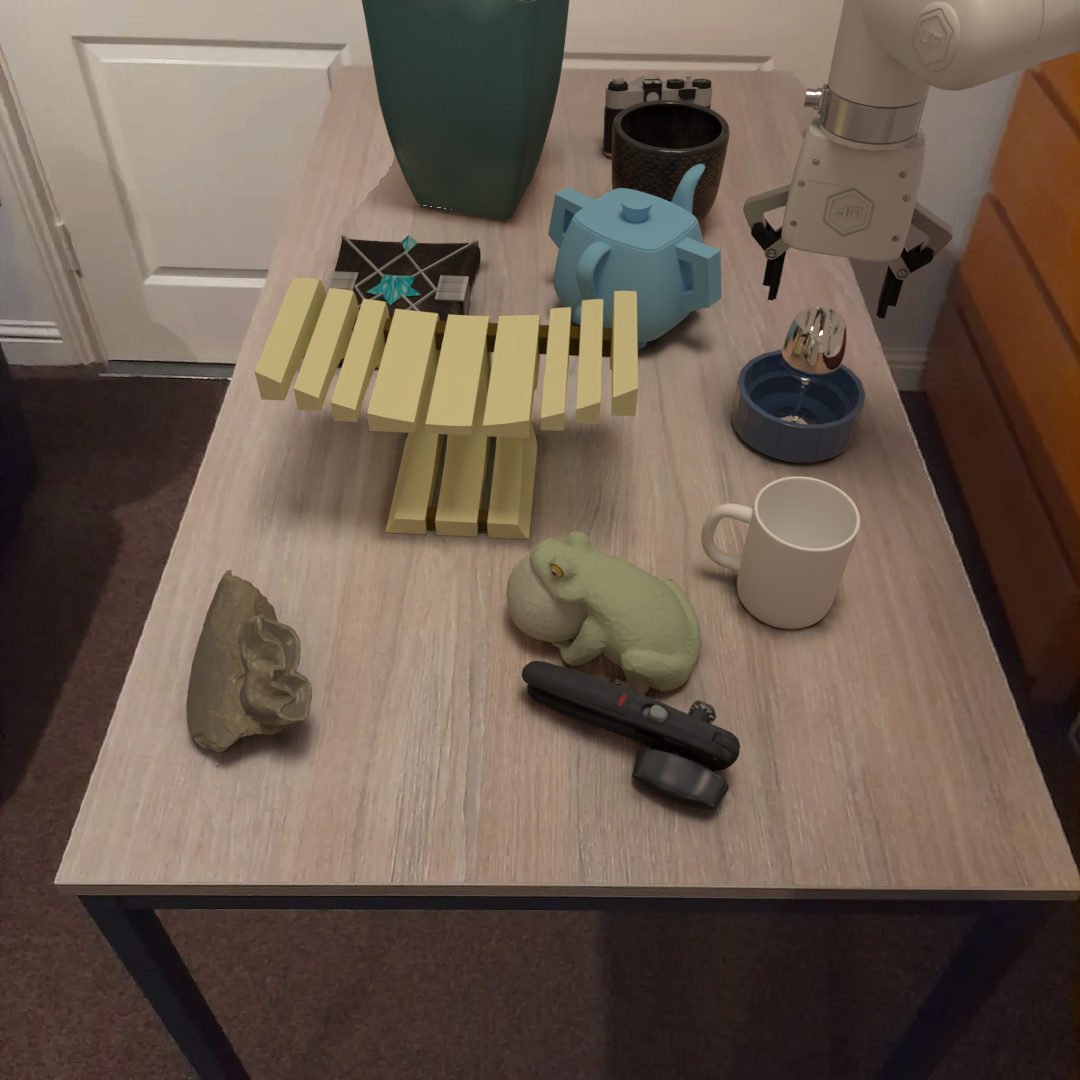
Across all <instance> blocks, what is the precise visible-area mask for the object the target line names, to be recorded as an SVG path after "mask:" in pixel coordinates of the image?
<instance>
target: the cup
mask: <svg viewBox="0 0 1080 1080" xmlns="http://www.w3.org/2000/svg"><path fill="white" fill-rule="evenodd" d="M724 518H729V519H734V520H736V521H739V522H742V523H745V524H747V525H748V529H747V532H746V537H745V543H744V546H743V550H742V554H741V556H740V555H735V554H730V553H728V552H725V551H723V550H721V549H720V548H719V547H718V546H717V545H716V542H715V532H716V529H717V527H718V525H719V523H720V522H721V521H722V520H723V519H724ZM860 526H861V515H860V511H859V509H858V507H857V505H856V503H855V502H854V501H853V499H852V498H851V497H850V496H849V494H847V493H846V492H844V491H843V490H842V489H841V488H839V487H838V486H836V485H834V484H832V483H830V482H828V481H824V480H822V479H820V478H819V479H818V478H815V477H810V476H796V475H795V476H785V477H781V478H778V479H775V480H773V481H771V482H769V483H767V484H765V486H763V487H762V488H761V489H760V490H759V492H758V493H757V494H756V496H755V499H754V503H753V507H750V506H747V505H742V504H739V503H733V502H732V503H731V502H728V503H727V502H725V503H721V504H719V505H717V506H716V507H714V508H713V509H712V510H711V511H710V512H709V513H708V515H707V516H706V518H705V520H704V523H703V525H702V529H701V535H700V536H701V537H700V538H701V547H702V549H703V551H704V553H705V554H706V556H707V557H708V558H709V559H710V560H711V561H712V562H714V564H716V565H718V566H720V567H721V568H725V569H728V570H731V571H733V572H737V577H736V591H737V594H738V597H739V599H740V602H741V603H742V605H743V606H744V608H745V609H746V611H748V612H749V613H750V614H751V615H752V616H753V617H754V618H756V619H757V620H758V621H760V622H761V623H764V624H766V625H769V626H771V627H775V628H778V629H785V630H797V629H798V630H799V629H804V628H807V627H810V626H813V625H815V624H816V623H818V622H820V621H821V620H822V619H824V617H826V615H827V614H828V613H829V612H830V610H831V608H832V606H833V604H834V601H835V599H836V596H837V594H838V590H839V588H840V584H841V582H842V579H843V576H844V573H845V570H846V568H847V564H848V562H849V559H850V556H851V553H852V551H853V547H854V544H855V542H856V538H857V536H858V534H859V530H860Z"/></svg>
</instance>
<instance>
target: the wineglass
mask: <svg viewBox="0 0 1080 1080" xmlns="http://www.w3.org/2000/svg"><path fill="white" fill-rule="evenodd" d="M846 347H847V321H846V319H845V317H844V316H843V315H841V314H840V313H839V312H838V311H835V310H833V309H832V308H828V307H824V306H823V307H822V306H808V307H805V308H802V309H801V310H799V311H798V312H797V313H796V315H795V316H794V318H793V319H792V321H791V324H790V325H789V327H788V330H787V331H786V334H785V336H784V339H783V343H782V346H781V350H782V362H783V365H784V368H785V369H786V371H787V372H788V373H789V374H790V375H791V376H792V377H793V378H795V379H797V380H799V381H800V384H799V399H798V403H797V406H785V407H782V408H780V409H778V410H777V411H776V412H775V414H774V416H775V417H777V418H780V419H782V420H784V421H789V422H794V423H799V424H818V420H817V418H816V416H815V415H814V414H813V413H812V412H811V411H809V410H807V409H805V408H802V407H801V406H802V402H803V398H804V396H805V394H806V391H807V390H808V388H809V386H810V383H819V382H823V381H825V380H827V379H829V378H831V377H832V376H833V375H834V374H835V373H836V372H837V371H838V369H839V368H840V366H841V364H843V362H844V358H845V353H846V349H847V348H846Z"/></svg>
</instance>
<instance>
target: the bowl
mask: <svg viewBox="0 0 1080 1080" xmlns="http://www.w3.org/2000/svg"><path fill="white" fill-rule="evenodd" d="M799 384H800V381H799V380H797V379H795V378H793V377H792V376H791V375H790V374H789V373H788V372H787V371H786V369H785V368H784V365H783V362H782V349H777V350H773V351H769V352H768V351H767V352H764V353H762V354H760V355H758V356H755V357H753V358H752V359H750V360H749V361H748V362H747V363H746V364H745V365H744V366H743V367H742V368H741V369H740V372H739V375H738V380H737V383H736V389H735V392H734V393H735V394H734V399H733V404H732V409H731V410H732V411H731V415H730V416H731V420H732V425H733V428H734V430H735V431H736V432H737V434H738V435H739V437H740V438H741V439H742V441H744V442H745V443H746V444H748V445H749V446H750V447H752V448H753V449H754V450H755V451H757V452H758V453H759V452H760V453H762V454H764V455H767V456H769V457H771V458H774V459H776V460H782V461H786V462H791V463H817V462H820V461H825V460H830V459H832V458H834V457H836V456H837V455H839V454H841V453H843V452H844V451H846V450H847V448H848V447H849V446H850V445H851V443H852V442H853V440H854V438H855V434H856V431H857V429H858V425H859V422H860V420H861V416H862V412H863V410H864V406H865V399H866V392H865V388H864V386H863V384H862V380H860V378H859V377H858V376H857V375H856V374H855V373H854V371H853V370H851V369H850V368H849V367H848V366H846V365H844V364H843V363H841V366H840V368H839V369H838V371H837V372H836V373H835V374H834V375H833V376H832V377H831V378H829V379H827V380H825V381H823V382H819V383H810V386H809V388H808V390H807V391H806V394H805V396H804V398H803V402H802V406H801V407H802V408H805V409H807V410H809V411H811V412H812V413H813V414H814V415H815V416H816V418H817V420H818V424H799V423H794V422H789V421H784V420H782V419H780V418H777V417H775V416H774V414H775V412H776V411H777V410H778V409H780V408H782V407H785V406H797V403H798V399H799Z"/></svg>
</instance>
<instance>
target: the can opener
mask: <svg viewBox="0 0 1080 1080" xmlns="http://www.w3.org/2000/svg"><path fill="white" fill-rule="evenodd" d="M521 678H522V680H523V681H524V683H525V684H527V686H526V691H527V695H528V697H529V698H530V699H531V700H533V701H535V702H536V703H538V704H540V705H542V706H544V707H545V708H548V709H550V710H552V711H555V712H557V713H559V714H561V715H563V716H566V717H567V718H570V719H574V720H576V721H578V722H581V723H583V724H587V725H588V726H589V725H590V726H591V727H595V728H598V729H600V730H603V731H606V732H609V733H612V734H615V735H617V736H620V737H623V738H626V739H629V740H631V741H633V742H636V743H638V744H641V745H643V746H645V747H646V748H641V749H639V750H637V753H636V756H635V762H634V766H633V771H632V778H633V779H634V780H635V781H636V783H638V784H639V785H641V786H643V787H644V788H645V789H646V790H648V791H650V792H651V793H653V794H655V795H656V796H658V797H660V798H661V799H664V800H666V801H669V802H671V803H674V804H677V805H679V806H683V807H688V808H690V809H696V810H700V811H714V810H716V809H717V808H718V806H719V805H720V803H721V802H722V800H723V799H724V797H725V796H726V794H727V793H728V791H729V789H730V785H729V783H728V782H727V780H725V779H724V778H723V777H722V776H720V775H719V774H717V773H716V772H722V771H725V770H727V769H728V768H730V767H732V765H734V764H735V763H736V762H737V760H738V758H739V756H740V750H741V749H740V748H741V744H740V741H739V738H738V737H737V735H735V734H734V733H733V732H732V731H729V730H727V729H725V728H723V727H719V726H718V725H715V724H712V723H713V722H714V721H715V720H716V719H717V715H716V710H715V709H716V708H715V707H714V706H713V705H712V704H711V703H710V702H708V701H706V700H705V699H704V700H703V699H695V700H694V702H693V703H692V704H691V706H690V707H689V710H688V712H687V713H686V712H684V711H681V710H679V709H677V708H675V707H672V706H671V705H669V704H666V703H664V702H663V703H662V702H660V701H658V700H656V699H654V698H651V697H649V696H647V695H645V694H644V695H642V694H639V693H637V692H634V691H632V690H629V689H627V688H624V687H621V685H619V684H617V683H616V684H615V683H613V682H611V681H607V680H605V679H601V678H599V677H596V676H594V675H590V674H588V673H584V672H581V671H579V670H575V669H572V668H569V667H565V666H561V665H559V664H554V663H551V662H546V661H542V660H533V661H530V662H528V663H526V664H525V666H523V668H522V670H521ZM618 685H619V686H618Z"/></svg>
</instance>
